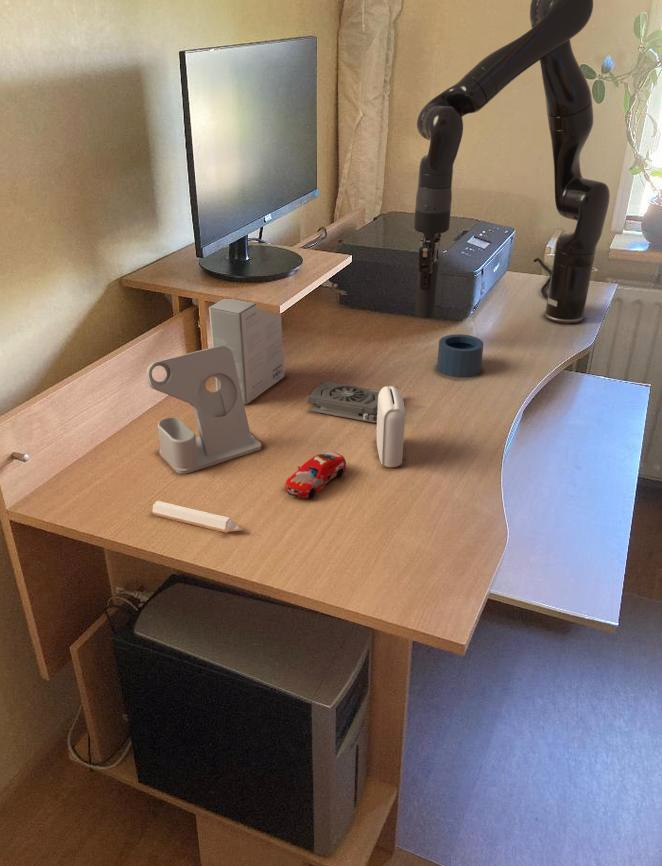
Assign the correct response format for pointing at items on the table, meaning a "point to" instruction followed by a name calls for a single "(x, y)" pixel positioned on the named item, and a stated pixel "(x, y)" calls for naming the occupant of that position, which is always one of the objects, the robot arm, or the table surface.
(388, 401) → the photo printer
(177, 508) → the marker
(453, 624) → the table surface
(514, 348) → the table surface
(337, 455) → the race car
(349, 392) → the graphics card
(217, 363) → the phone holder
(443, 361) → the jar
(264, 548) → the table surface
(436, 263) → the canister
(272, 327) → the hard drive box
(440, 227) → the robot arm
